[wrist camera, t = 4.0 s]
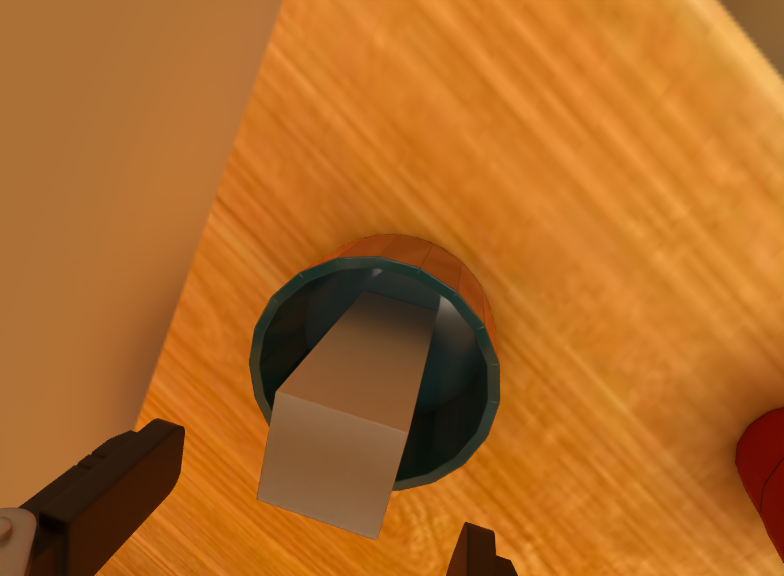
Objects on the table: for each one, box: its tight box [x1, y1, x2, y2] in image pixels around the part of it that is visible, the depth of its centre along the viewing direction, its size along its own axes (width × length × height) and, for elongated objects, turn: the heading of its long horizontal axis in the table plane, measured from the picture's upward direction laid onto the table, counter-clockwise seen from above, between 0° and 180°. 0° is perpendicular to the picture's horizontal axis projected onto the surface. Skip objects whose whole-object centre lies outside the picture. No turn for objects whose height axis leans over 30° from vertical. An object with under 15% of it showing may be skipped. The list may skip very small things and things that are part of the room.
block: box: [257, 291, 438, 540], centre depth 19 cm, size 4×4×11 cm
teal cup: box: [249, 234, 500, 491], centre depth 21 cm, size 11×11×6 cm
